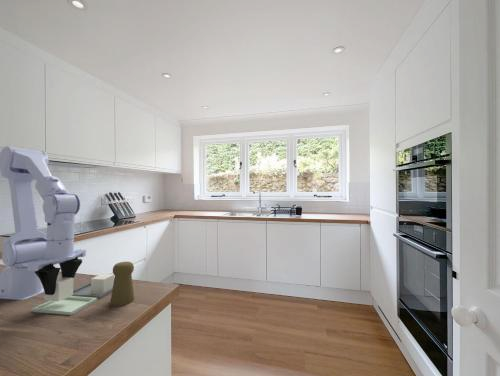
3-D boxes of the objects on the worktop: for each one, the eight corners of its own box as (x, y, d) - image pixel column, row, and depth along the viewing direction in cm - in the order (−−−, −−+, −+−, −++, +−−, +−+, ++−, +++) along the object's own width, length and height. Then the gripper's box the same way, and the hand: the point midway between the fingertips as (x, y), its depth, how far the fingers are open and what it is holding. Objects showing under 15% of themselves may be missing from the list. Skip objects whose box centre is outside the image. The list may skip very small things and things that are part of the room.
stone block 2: (90, 294, 69) (91, 278, 69) (101, 288, 73) (101, 274, 73) (103, 295, 68) (103, 279, 68) (113, 289, 72) (114, 274, 73)
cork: (123, 308, 61) (125, 266, 62) (104, 306, 62) (105, 264, 63) (139, 299, 67) (140, 260, 67) (121, 296, 68) (122, 259, 69)
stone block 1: (44, 300, 60) (45, 282, 60) (59, 293, 64) (60, 276, 64) (58, 301, 60) (59, 283, 60) (73, 294, 64) (73, 277, 64)
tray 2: (65, 297, 67) (65, 293, 67) (90, 286, 76) (90, 282, 76) (99, 300, 66) (99, 296, 66) (121, 288, 75) (121, 284, 75)
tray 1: (32, 313, 58) (32, 308, 58) (62, 299, 66) (62, 295, 66) (71, 317, 57) (71, 312, 57) (96, 302, 65) (97, 297, 65)
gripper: (46, 245, 55) (44, 304, 54) (95, 235, 69) (93, 281, 69) (20, 244, 56) (18, 301, 55) (74, 234, 70) (72, 280, 70)
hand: (58, 290), depth 62 cm, fingers closed on stone block 1, 4 cm apart
